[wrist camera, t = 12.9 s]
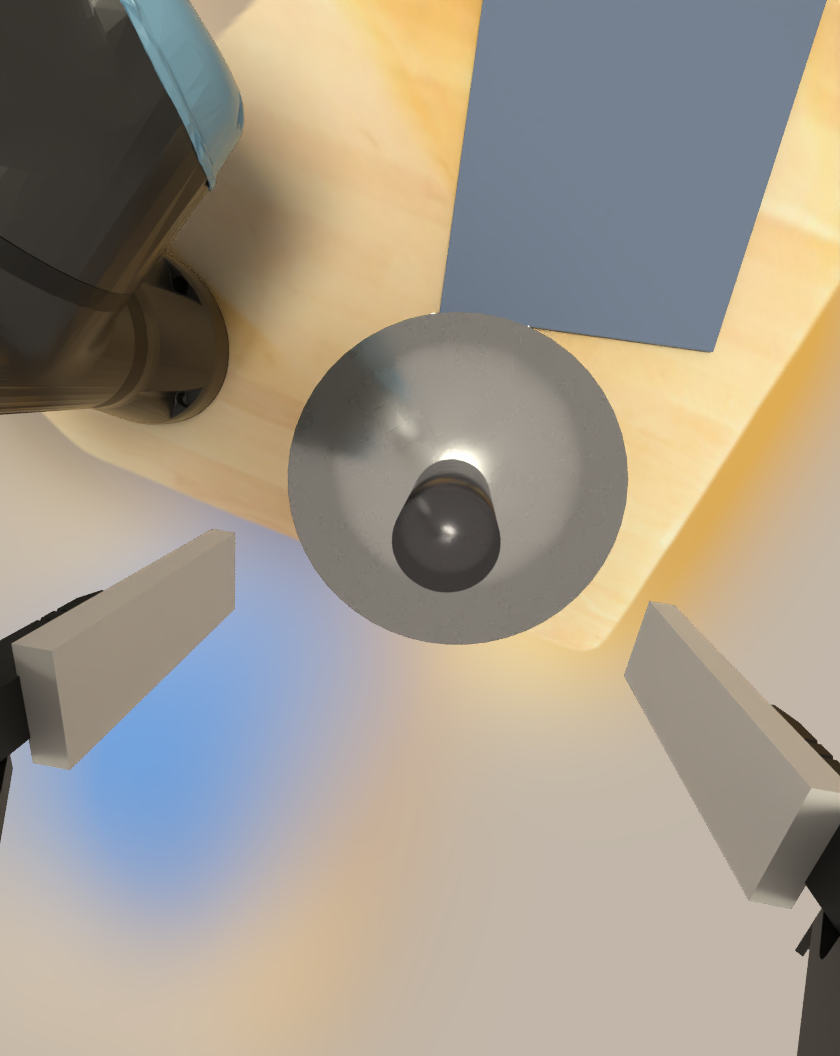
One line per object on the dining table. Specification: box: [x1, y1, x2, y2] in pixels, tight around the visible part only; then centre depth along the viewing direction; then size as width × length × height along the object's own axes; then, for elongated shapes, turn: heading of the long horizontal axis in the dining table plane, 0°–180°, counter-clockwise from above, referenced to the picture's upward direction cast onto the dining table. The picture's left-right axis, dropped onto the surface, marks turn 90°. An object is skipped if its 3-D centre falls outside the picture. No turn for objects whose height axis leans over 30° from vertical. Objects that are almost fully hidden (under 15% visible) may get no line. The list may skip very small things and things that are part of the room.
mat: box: [440, 0, 827, 352], centre depth 34 cm, size 23×23×1 cm
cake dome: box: [288, 312, 628, 644], centre depth 31 cm, size 22×22×23 cm
